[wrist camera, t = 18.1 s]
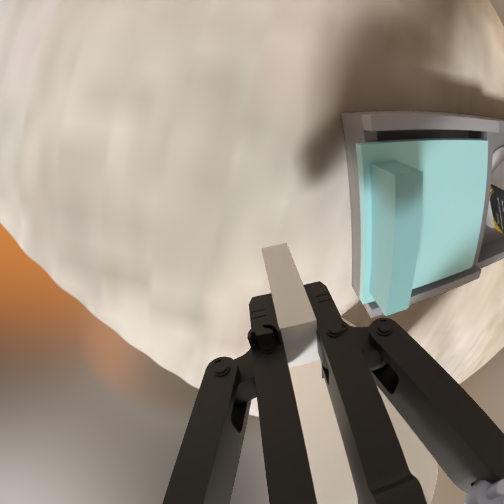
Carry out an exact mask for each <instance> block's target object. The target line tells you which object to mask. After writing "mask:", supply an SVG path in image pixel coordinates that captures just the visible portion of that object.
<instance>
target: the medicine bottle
mask: <svg viewBox="0 0 504 504" xmlns="http://www.w3.org/2000/svg"><path fill="white" fill-rule="evenodd" d="M489 203H490V208H491V213H492V219H493V225H494V228H495V229H497V230H498V231H500V232H501V233H502V234H504V159H503V160H502V162H501V163H500V164H499V165H498V166H497V168H496V169H495V170H494V171H493V172H492V177H491V189H490V198H489Z"/></svg>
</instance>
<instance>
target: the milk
mask: <svg viewBox="0 0 504 504" xmlns="http://www.w3.org/2000/svg"><path fill="white" fill-rule="evenodd" d="M341 318H342V319H343V321H344V322H346V323H347V324H348V325H350V326H353V327H357V326H355V325H354V324H352V323H351V322H349V321H347V320H346V319H344V318H343V317H341ZM289 371H290V375H291V380H292V384H293V389H294V394H295V398H296V403H297V408H298V412H299V417H300V422H301V427H302V431H303V436H304V441H305V446H306V450H307V455H308V460H309V465H310V470H311V475H312V480H313V485H314V490H315V495H316V500H317V504H358V498H357V493H356V489H355V485H354V481H353V478H352V474H351V470H350V466H349V462H348V459H347V455H346V451H345V448H344V444H343V440H342V437H341V433H340V430H339V426H338V423H337V419H336V416H335V412H334V409H333V406H332V402H331V399H330V395H329V392H328V389H327V385H326V382H325V379H324V378H322V366H321V360H320V357H319V360H318V361H314V362H310V363H306V364H302V365H298V366H293V367H289ZM377 388H378V390H379V393H380V395H381V397H382V400H383V402H384V405H385V407H386V409H387V412H388V414H389V417H390V419H391V422H392V424H393V427H394V430H395V432H396V435H397V437H398V440H399V443H400V445H401V448H402V451H403V454H404V456H405V459H406V462H407V465H408V468H409V470H410V472H411V474H412V475H414V476H415V477H416V478H417V479H418V480H419V482H420V484H421V486H422V489H423V493H424V496H425V499H426V502H427V504H431V502H432V498H433V494H434V490H435V486H436V482H437V476H438V466H437V461H436V460H435V459H434V457H433V456H432V455H431V453H430V452H429V451H428V450H427V448H426V447H425V446H424V444H423V443H422V442H421V441H420V439H419V438H418V437H417V435H416V434H415V433H414V432H413V430H412V429H411V428H410V426H409V425H408V424H407V423H406V421H405V420H404V419H403V418H402V416H401V415H400V414H399V413H398V411H397V410H396V409H395V407H394V406H393V405H392V404H391V402H390V401H389V400H388V399H387V397H386V396H385V395H384V394H383V392H382V391H381V390H380V389H379V387H378V386H377Z"/></svg>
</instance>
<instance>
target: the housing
mask: <svg viewBox="0 0 504 504" xmlns="http://www.w3.org/2000/svg"><path fill="white" fill-rule="evenodd" d="M341 116H342V123H343V130H344V138H345V146H346V155H347V164H348V175H349V188H350V203H351V224H352V287H353V289H354V291H355V292H356V294H357V296H358V297H359V295H360V270H361V218H360V193H359V177H358V164H357V153H356V144H355V143H364V142H375V141H388V140H403V139H426V138H475V139H484V140H487V141H488V165H487V181H486V192H485V201H484V209H483V216H482V223H481V228H480V234H479V239H478V244H477V249H476V253H475V258H474V262H473V266H472V268H469V269H467V270H464V271H462V272H459V273H456V274H454V275H451V276H449V277H446V278H443V279H440V280H438V281H435V282H432V283H429V284H426V285H423V286H420V287H418V288H415V289H412V292H411V297H410V302H409V305H412V304H415V303H418V302H421V301H423V300H426V299H429V298H431V297H434V296H437V295H439V294H442V293H444V292H447V291H449V290H452V289H454V288H457V287H459V286H461V285H464V284H466V283H469V282H471V281H473V280H475V279H478V278H479V276H480V273H481V268H483V267H485V266H488V265H490V264H492V263H494V262H496V261H499V260H501V259H503V258H504V234H502V233H501V232H500V231H498V230H497V229H495V228H494V225H493V219H492V213H491V208H490V203H489V198H490V189H491V177H492V172H493V171H494V170H495V169H496V168H497V166H498V165H499V164H500V163H501V162H502V160H503V159H504V120H503V119H498V118H491V117H485V116H477V115H469V114H459V113H447V112H430V111H369V112H351V113H341ZM360 301H361V300H360ZM363 306H364V307H365V309H366V311H367V313H368V314H369V316H370V318H373V317H376V316H379V315H382V314H383V312H382V310H381V309H380V307H379V306H378V304H377V303H376V301H373V302H370V303H366V304H363Z"/></svg>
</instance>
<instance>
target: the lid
mask: <svg viewBox="0 0 504 504" xmlns="http://www.w3.org/2000/svg"><path fill="white" fill-rule="evenodd" d="M355 144H356V153H357V164H358V177H359V193H360V218H361V270H360V295H359V299H360V300H361V302H362V304H366V303H370V302H373V301H376V303H377V304H378V306H379V307H380V309H381V310H382V312H383V314H384V315H385V316H388V315H391V314H394V313H397V312H400V311H403V310H406V309H408V307H409V302H410V297H411V292H412V289H415V288H418V287H420V286H423V285H426V284H429V283H432V282H435V281H438V280H440V279H443V278H446V277H449V276H451V275H454V274H456V273H459V272H462V271H464V270H467V269H469V268H472V266H473V262H474V258H475V253H476V249H477V244H478V239H479V234H480V228H481V223H482V216H483V209H484V201H485V192H486V181H487V165H488V141H487V140H484V139H475V138H426V139H403V140H388V141H375V142H364V143H355Z"/></svg>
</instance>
